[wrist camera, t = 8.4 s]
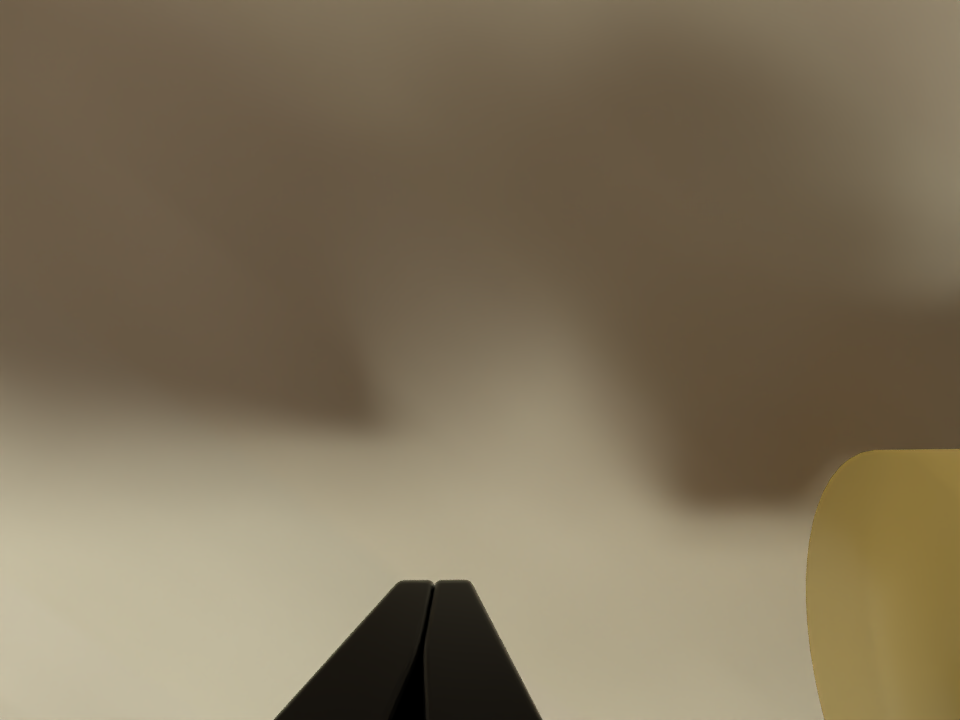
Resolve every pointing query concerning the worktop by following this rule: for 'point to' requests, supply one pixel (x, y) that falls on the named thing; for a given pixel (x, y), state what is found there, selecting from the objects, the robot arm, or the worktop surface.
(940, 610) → the yellow capped tube
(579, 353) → the worktop surface
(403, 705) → the robot arm
